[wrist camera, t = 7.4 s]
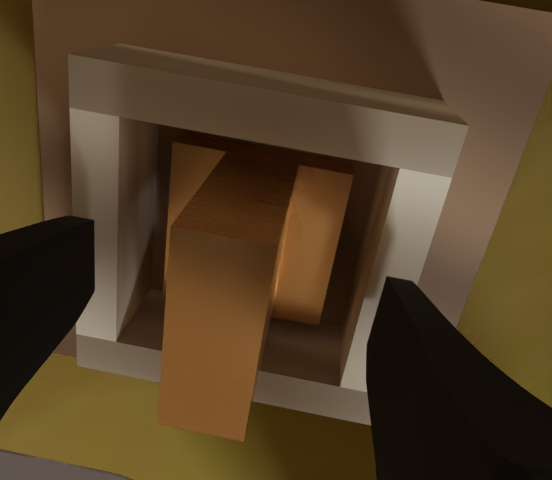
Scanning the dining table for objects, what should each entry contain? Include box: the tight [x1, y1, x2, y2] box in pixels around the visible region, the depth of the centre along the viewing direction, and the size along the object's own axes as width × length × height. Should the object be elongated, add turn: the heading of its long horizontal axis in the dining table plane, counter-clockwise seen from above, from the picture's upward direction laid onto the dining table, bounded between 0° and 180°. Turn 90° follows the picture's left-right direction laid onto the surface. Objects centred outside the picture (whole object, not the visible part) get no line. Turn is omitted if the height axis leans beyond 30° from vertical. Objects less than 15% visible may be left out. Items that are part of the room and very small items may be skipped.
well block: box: [32, 0, 552, 425], centre depth 15 cm, size 14×14×4 cm
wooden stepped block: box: [157, 131, 354, 442], centre depth 13 cm, size 5×5×6 cm
